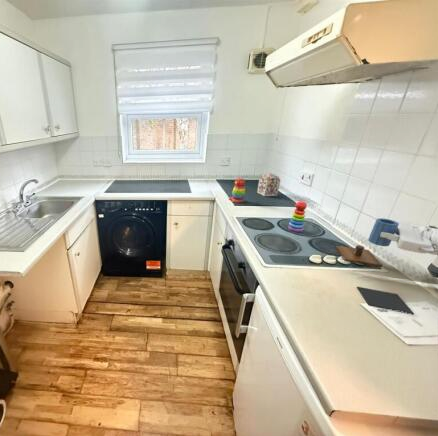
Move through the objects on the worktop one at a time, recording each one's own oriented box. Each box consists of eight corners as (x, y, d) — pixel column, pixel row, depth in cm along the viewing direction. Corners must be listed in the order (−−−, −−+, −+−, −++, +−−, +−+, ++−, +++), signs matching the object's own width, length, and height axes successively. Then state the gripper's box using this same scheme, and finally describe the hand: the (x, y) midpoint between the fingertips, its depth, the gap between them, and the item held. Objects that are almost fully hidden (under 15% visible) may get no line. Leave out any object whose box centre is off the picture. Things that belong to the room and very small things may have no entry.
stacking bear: (227, 198, 190) (231, 176, 183) (239, 198, 191) (243, 176, 184) (234, 203, 180) (237, 180, 173) (246, 202, 181) (250, 179, 174)
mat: (396, 295, 87) (397, 294, 87) (413, 314, 78) (414, 313, 78) (356, 287, 91) (357, 286, 90) (368, 305, 82) (368, 304, 82)
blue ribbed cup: (384, 240, 94) (393, 219, 91) (392, 247, 89) (402, 226, 85) (365, 237, 96) (373, 217, 93) (372, 244, 91) (381, 223, 87)
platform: (366, 255, 112) (371, 242, 109) (379, 270, 100) (386, 256, 98) (333, 250, 116) (338, 237, 113) (343, 264, 105) (348, 251, 102)
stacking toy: (286, 228, 139) (294, 198, 132) (302, 231, 135) (311, 200, 128) (285, 233, 133) (293, 202, 125) (302, 237, 129) (311, 204, 122)
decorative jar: (277, 196, 196) (282, 174, 189) (264, 196, 194) (268, 175, 187) (268, 192, 207) (273, 171, 200) (256, 192, 205) (260, 172, 198)
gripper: (434, 262, 77) (377, 247, 85) (425, 239, 91) (377, 229, 99) (444, 245, 74) (384, 232, 83) (433, 224, 88) (383, 215, 97)
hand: (380, 230), depth 91 cm, fingers closed on blue ribbed cup, 6 cm apart
